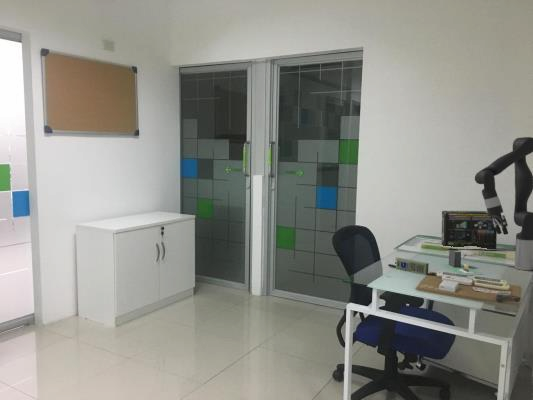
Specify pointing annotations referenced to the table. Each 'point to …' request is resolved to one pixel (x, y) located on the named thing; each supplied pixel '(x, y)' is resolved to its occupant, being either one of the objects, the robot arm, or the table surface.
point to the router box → (468, 229)
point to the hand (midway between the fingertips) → (502, 234)
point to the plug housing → (454, 258)
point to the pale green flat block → (461, 269)
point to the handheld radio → (411, 266)
